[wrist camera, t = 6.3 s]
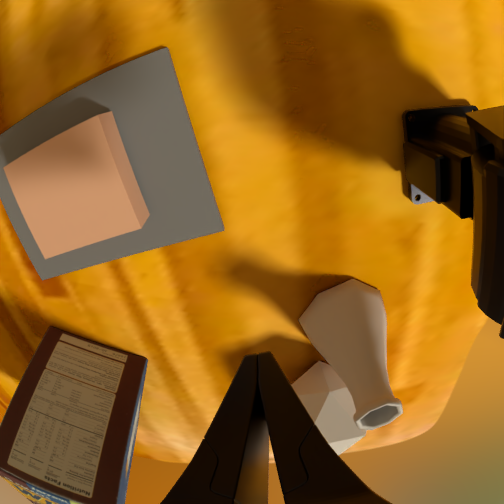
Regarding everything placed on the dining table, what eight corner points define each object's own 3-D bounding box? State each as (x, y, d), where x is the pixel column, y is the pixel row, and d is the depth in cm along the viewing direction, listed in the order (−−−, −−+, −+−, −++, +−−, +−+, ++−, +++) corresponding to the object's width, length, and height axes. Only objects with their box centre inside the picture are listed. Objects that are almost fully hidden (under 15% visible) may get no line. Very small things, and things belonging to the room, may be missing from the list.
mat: (168, 47, 15) (166, 47, 14) (224, 227, 21) (224, 230, 20) (-15, 147, 16) (-19, 149, 16) (44, 277, 22) (42, 280, 22)
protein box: (63, 402, 32) (31, 503, 19) (49, 323, 25) (-18, 460, 11) (139, 427, 34) (121, 535, 21) (150, 357, 27) (117, 517, 13)
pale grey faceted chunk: (254, 369, 29) (265, 466, 25) (317, 358, 22) (331, 482, 18) (319, 362, 33) (329, 446, 29) (384, 347, 26) (396, 448, 23)
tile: (98, 114, 14) (3, 167, 15) (141, 228, 18) (45, 259, 18) (113, 110, 16) (22, 158, 17) (151, 212, 20) (59, 243, 20)
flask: (281, 318, 25) (298, 429, 16) (354, 261, 22) (408, 365, 14) (333, 356, 28) (358, 451, 19) (397, 310, 25) (445, 402, 16)
